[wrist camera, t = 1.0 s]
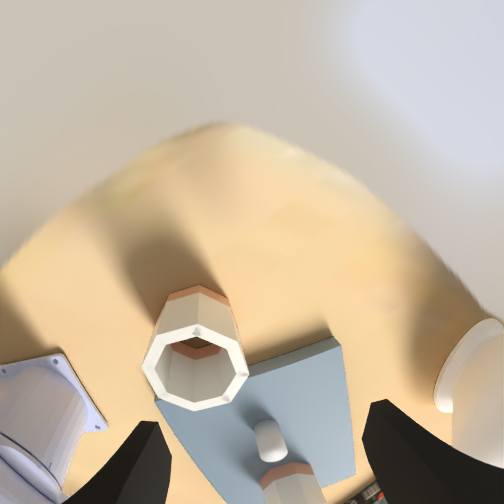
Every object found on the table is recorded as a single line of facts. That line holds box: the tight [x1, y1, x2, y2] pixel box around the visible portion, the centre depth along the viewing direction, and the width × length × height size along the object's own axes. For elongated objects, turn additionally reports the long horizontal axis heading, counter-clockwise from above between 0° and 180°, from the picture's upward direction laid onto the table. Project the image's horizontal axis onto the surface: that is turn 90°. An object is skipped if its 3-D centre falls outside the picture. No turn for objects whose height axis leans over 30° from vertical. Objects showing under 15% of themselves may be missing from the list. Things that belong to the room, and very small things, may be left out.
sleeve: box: [141, 285, 249, 411], centre depth 17 cm, size 5×5×6 cm
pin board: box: [154, 336, 356, 504], centre depth 21 cm, size 14×19×4 cm
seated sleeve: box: [260, 462, 327, 504], centre depth 20 cm, size 5×5×6 cm
